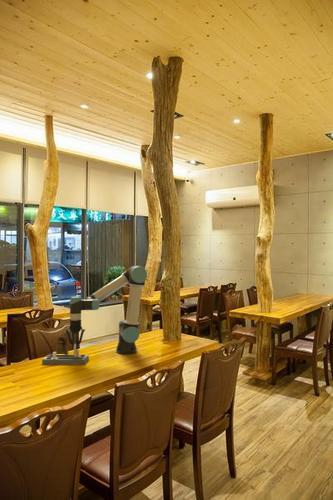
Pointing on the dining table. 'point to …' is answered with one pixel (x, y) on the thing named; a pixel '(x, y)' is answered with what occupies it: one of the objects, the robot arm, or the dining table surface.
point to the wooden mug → (62, 344)
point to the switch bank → (65, 359)
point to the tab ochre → (77, 354)
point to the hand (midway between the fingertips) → (75, 353)
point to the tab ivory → (54, 355)
